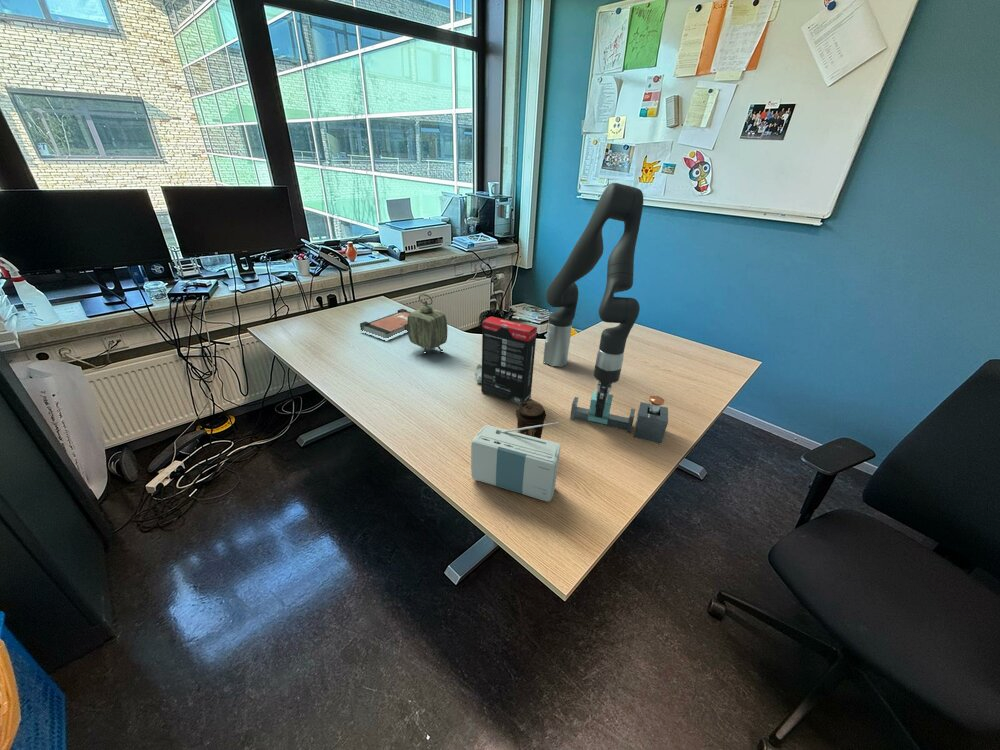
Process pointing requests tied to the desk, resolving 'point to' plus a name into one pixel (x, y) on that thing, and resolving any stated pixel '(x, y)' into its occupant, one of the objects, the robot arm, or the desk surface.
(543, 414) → the coffee cup
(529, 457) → the stereo radio cassette player
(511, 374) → the graphics card box
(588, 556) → the desk surface
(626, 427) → the rail
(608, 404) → the carriage
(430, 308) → the tabletop clock
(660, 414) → the grey cube with hole
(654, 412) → the plunger
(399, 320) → the book
